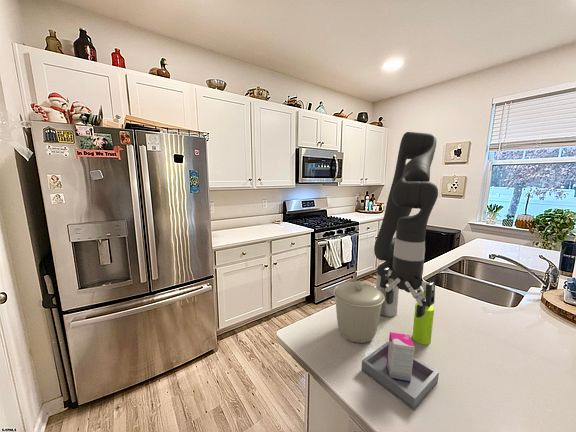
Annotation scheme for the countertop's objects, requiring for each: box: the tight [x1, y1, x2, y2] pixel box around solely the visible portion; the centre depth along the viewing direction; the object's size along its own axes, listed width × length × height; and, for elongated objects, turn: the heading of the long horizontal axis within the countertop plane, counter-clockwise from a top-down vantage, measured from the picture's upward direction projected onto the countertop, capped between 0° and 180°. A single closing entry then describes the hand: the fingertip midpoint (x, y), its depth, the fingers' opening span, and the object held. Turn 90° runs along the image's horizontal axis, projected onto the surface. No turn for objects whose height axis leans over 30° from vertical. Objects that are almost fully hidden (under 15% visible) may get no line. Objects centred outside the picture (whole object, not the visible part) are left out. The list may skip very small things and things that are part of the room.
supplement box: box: [387, 331, 415, 382], centre depth 71 cm, size 6×6×12 cm
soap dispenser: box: [411, 286, 435, 346], centre depth 87 cm, size 6×7×20 cm
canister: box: [332, 280, 385, 344], centre depth 89 cm, size 18×18×21 cm
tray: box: [361, 341, 440, 411], centre depth 71 cm, size 16×14×4 cm
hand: (403, 309), depth 68 cm, fingers open, 8 cm apart
